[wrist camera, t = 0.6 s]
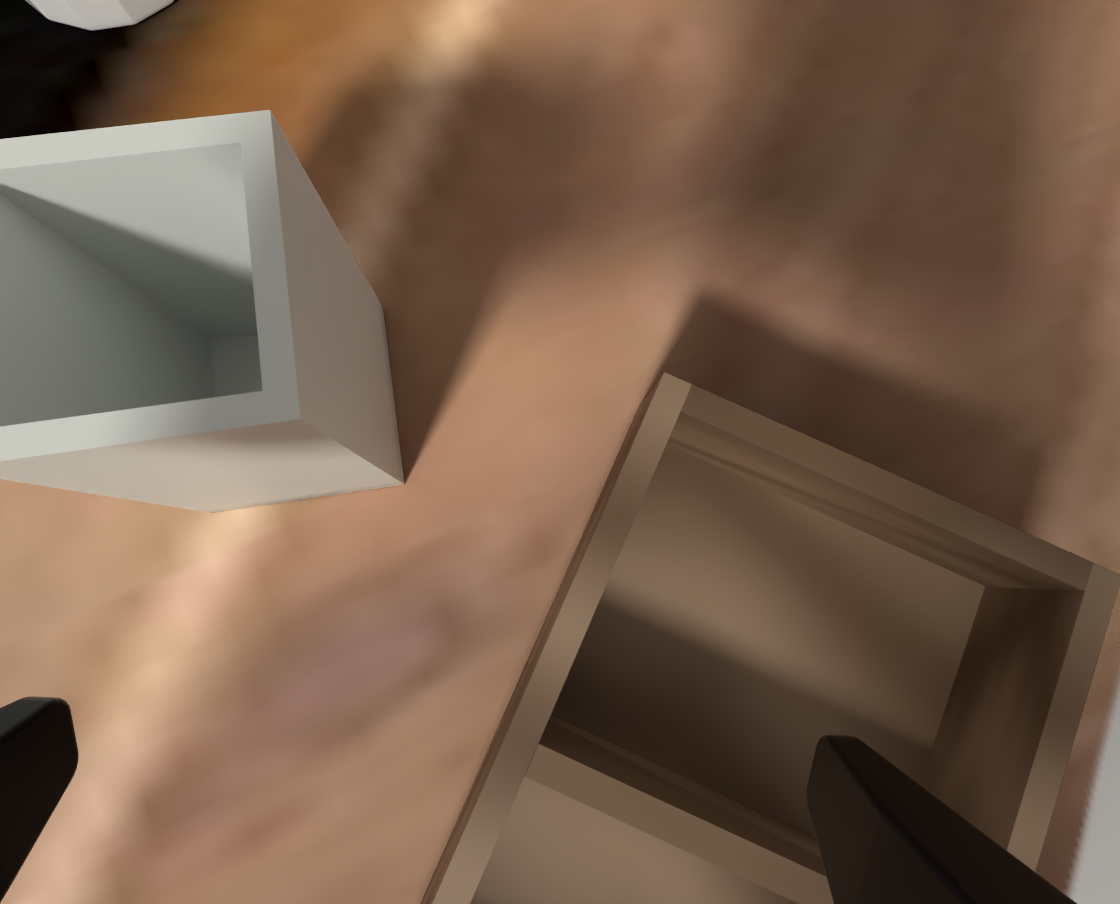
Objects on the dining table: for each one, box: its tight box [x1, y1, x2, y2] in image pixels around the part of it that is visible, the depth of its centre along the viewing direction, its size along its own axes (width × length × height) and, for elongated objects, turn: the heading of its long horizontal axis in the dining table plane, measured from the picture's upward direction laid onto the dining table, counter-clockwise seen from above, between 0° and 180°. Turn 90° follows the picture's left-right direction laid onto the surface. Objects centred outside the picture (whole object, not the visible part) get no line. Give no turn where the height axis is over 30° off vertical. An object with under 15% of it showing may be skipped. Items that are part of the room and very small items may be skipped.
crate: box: [421, 372, 1120, 904], centre depth 18 cm, size 20×13×5 cm, turn 156°
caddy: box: [0, 110, 404, 513], centre depth 17 cm, size 6×6×10 cm
